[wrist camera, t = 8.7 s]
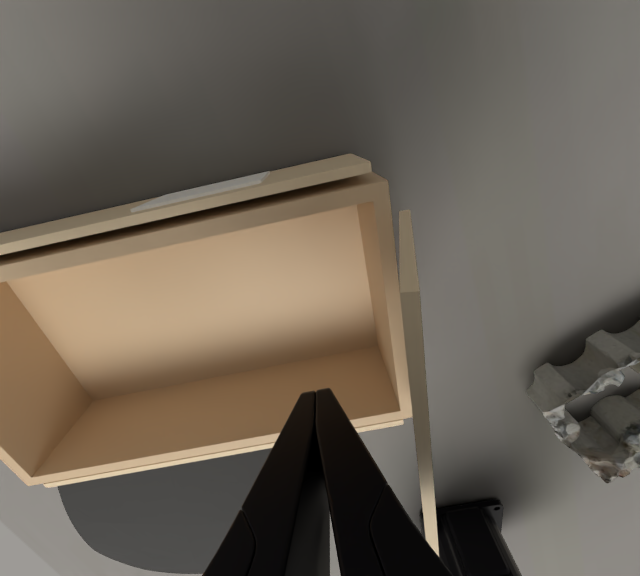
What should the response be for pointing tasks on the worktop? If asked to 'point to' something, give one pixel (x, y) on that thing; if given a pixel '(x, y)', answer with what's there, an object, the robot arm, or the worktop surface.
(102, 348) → the carton
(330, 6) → the worktop surface
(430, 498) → the flap
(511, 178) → the worktop surface
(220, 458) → the media streaming box
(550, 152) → the worktop surface
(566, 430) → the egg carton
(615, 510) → the worktop surface
